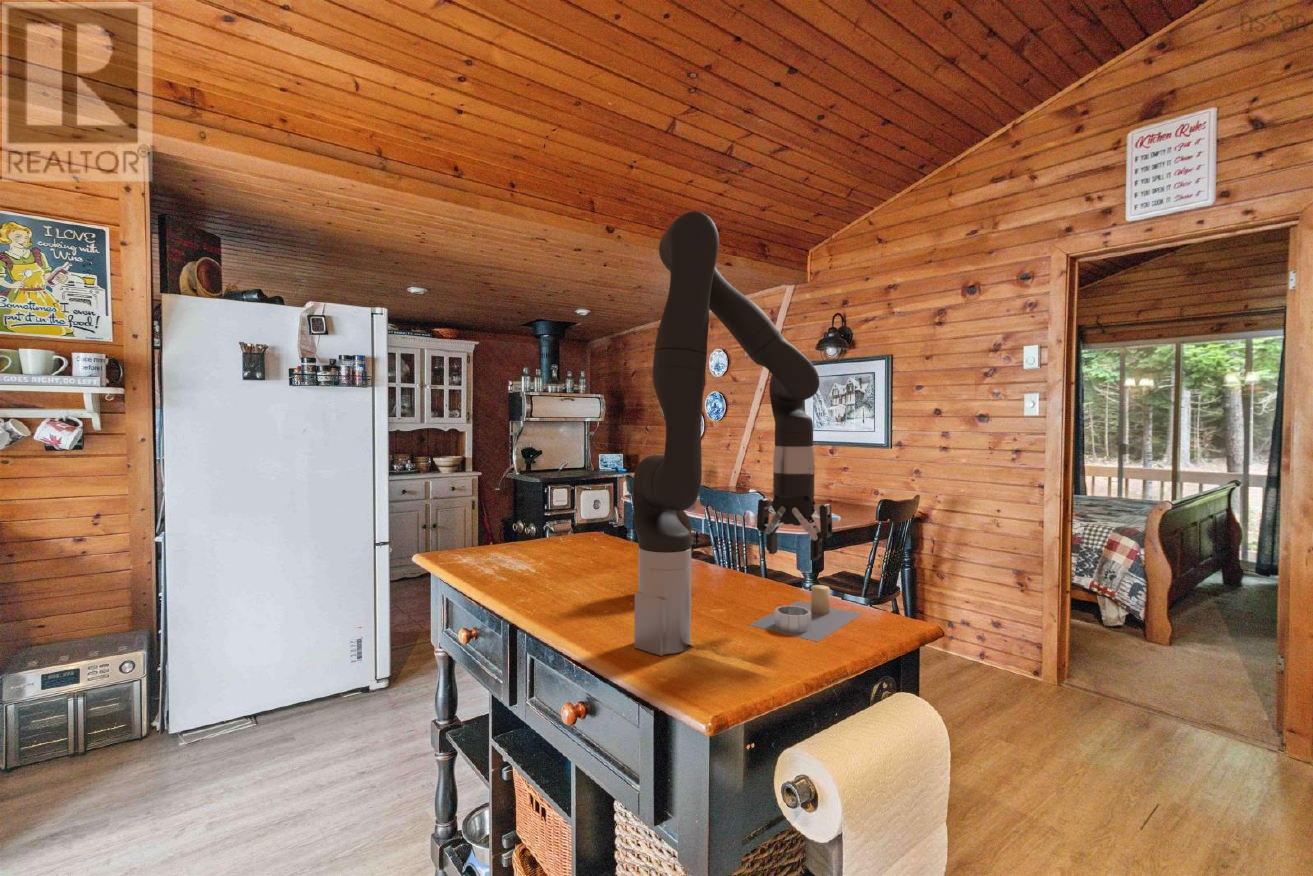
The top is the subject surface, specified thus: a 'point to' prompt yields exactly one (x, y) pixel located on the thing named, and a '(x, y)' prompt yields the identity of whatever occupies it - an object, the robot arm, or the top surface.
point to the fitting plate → (814, 616)
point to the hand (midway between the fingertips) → (793, 556)
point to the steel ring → (793, 619)
